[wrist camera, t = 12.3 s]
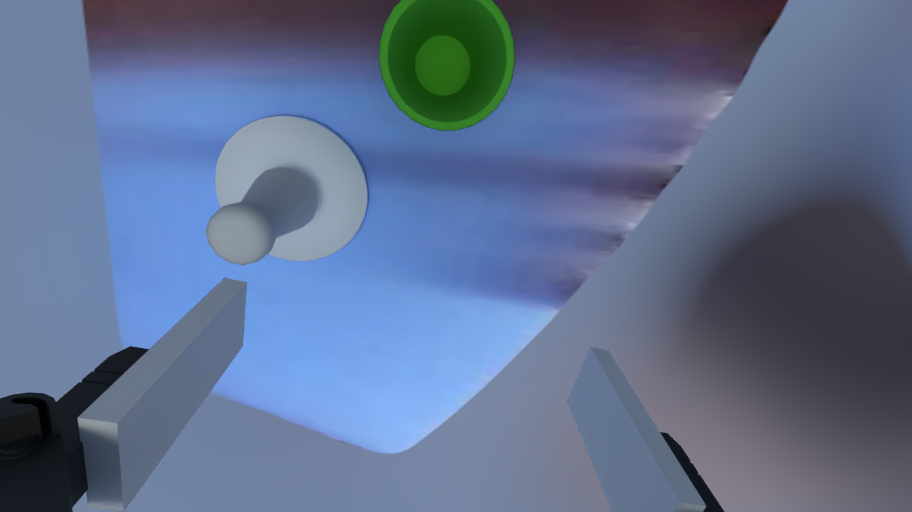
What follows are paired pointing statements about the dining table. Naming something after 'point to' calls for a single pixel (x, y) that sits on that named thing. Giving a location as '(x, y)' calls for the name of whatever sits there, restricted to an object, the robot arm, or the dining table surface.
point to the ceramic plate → (314, 158)
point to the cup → (447, 60)
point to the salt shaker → (262, 216)
